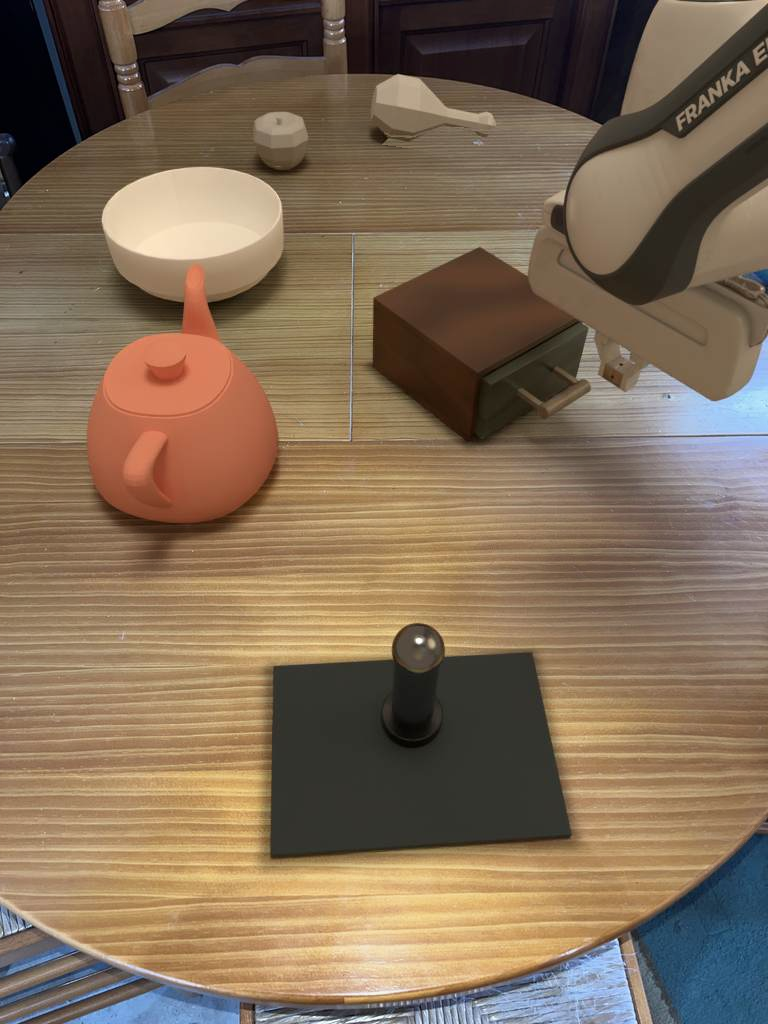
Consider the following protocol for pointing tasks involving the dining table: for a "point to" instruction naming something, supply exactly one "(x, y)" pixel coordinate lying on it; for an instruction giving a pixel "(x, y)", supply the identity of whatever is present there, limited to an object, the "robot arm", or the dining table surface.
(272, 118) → the apple
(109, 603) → the dining table surface
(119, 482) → the teapot
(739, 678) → the dining table surface
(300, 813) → the mat
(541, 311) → the cabinet
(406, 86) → the chicken leg
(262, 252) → the bowl
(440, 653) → the domed metal post
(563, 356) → the drawer
